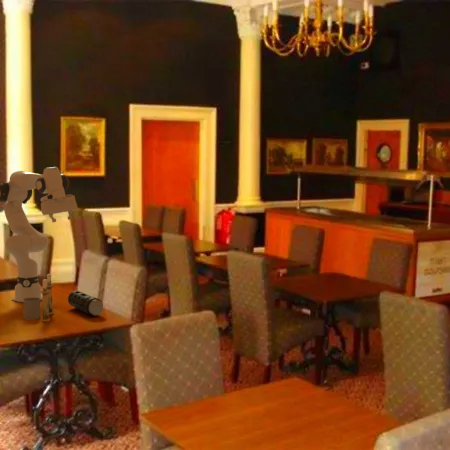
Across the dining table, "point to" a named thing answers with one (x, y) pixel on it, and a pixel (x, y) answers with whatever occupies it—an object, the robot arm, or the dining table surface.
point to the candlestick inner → (49, 294)
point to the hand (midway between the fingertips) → (62, 220)
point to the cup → (31, 308)
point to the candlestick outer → (45, 302)
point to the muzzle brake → (85, 303)
